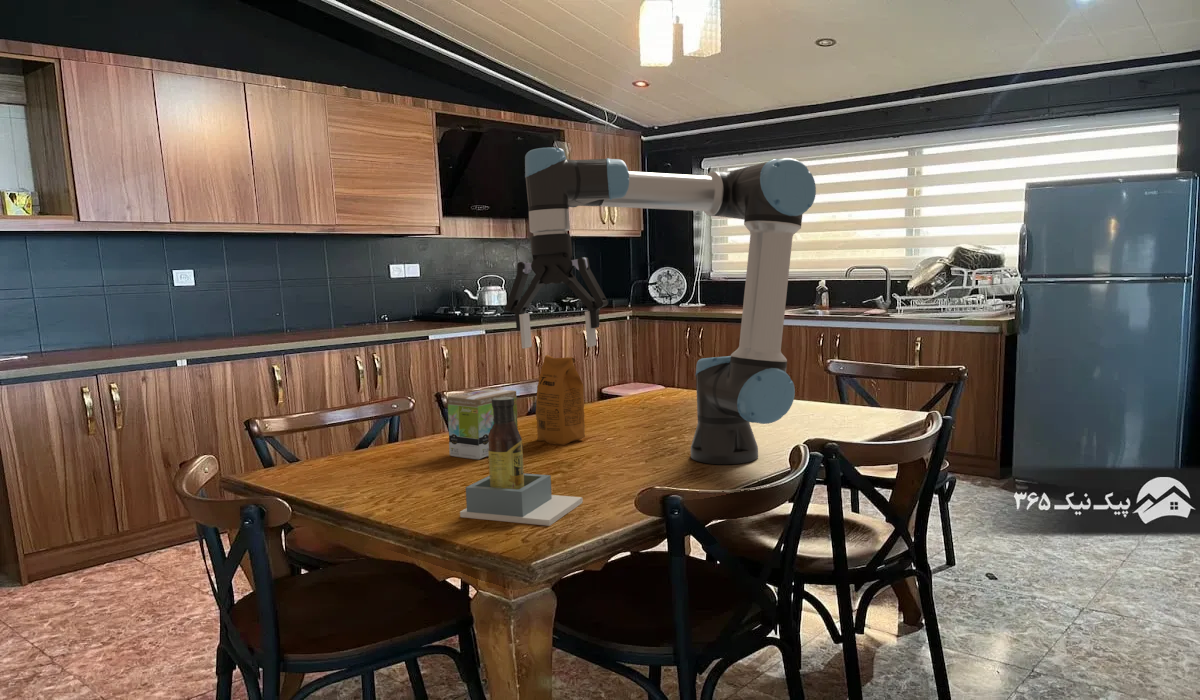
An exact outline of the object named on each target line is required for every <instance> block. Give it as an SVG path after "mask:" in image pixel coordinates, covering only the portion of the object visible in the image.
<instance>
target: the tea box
mask: <svg viewBox="0 0 1200 700" xmlns="http://www.w3.org/2000/svg"><path fill="white" fill-rule="evenodd" d="M499 397H512V398H514V406H513V410H514V419H515V420H514V421H515V424H516V426H517V429H518V427H519V426H518V407H517V406H518V404H517V403H518V401H517V400H518V399H517V398H518V397H517V390H510V389H499V388H497V389H496V388H485V389H480V390H479V389H478V390H475V391H471V392H465V393H461V394H460V393H459V394H455V395H451V396H447V415H448V416H447V417H448V419H447V422H448V440H449V441H448V446H449V447H448V448H449V449H448V450H449V452H448V453H449V456H450V457H456V458H463V459H471V460H482V459H483V458H485V457H489V454H488V450H489V442H488V435H489V432H490V430H491V429H492V426H493V424H494V421H493V419H494V415H493V407H492V399H493V398H499Z"/></svg>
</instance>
